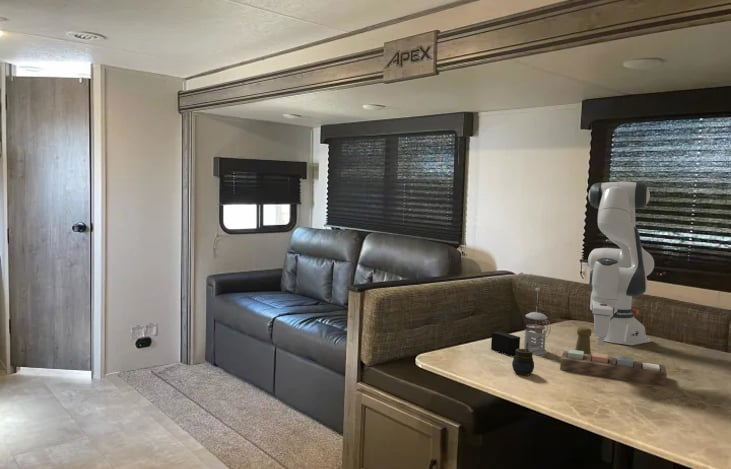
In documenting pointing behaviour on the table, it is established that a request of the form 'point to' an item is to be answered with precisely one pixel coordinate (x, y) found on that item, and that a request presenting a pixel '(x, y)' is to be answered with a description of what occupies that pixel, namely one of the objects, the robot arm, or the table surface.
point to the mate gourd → (523, 361)
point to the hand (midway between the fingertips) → (600, 344)
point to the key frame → (614, 369)
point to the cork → (583, 340)
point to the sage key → (575, 354)
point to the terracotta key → (600, 357)
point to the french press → (538, 335)
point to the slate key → (624, 361)
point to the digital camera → (505, 343)
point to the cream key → (650, 366)
